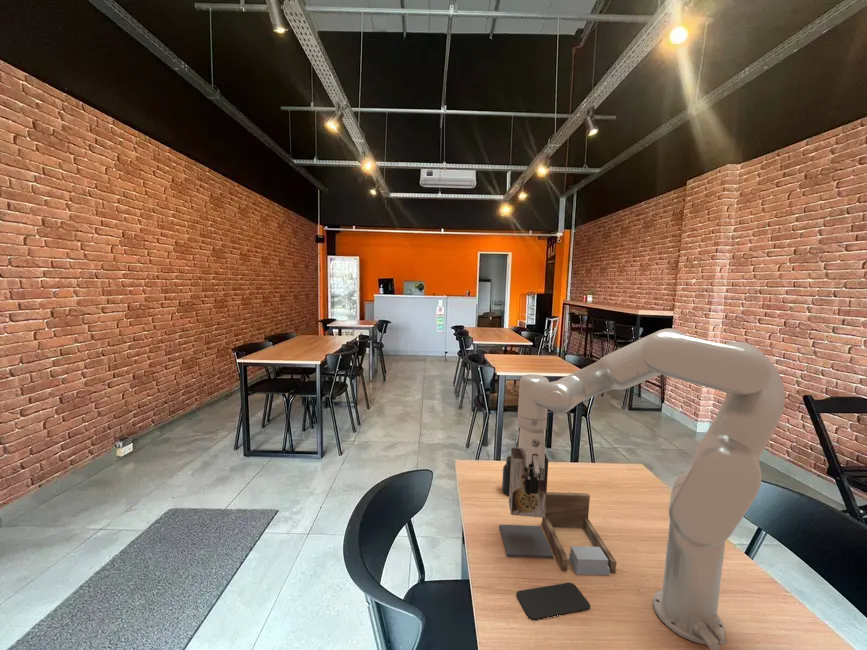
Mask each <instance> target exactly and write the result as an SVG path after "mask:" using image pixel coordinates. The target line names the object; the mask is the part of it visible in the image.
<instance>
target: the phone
mask: <svg viewBox="0 0 867 650" xmlns="http://www.w3.org/2000/svg"><path fill="white" fill-rule="evenodd" d="M515 595H516V599H517V600H518V603H519V605H520V606H521V608H522V610H523V612H524V613H525V615H526V617H527V616H528V617H527V618H528V619H529V620H530V619H531V621H532V620H537V621H539V620H538V619H542V620H544V619H543V618H547V617H553V616H557V615H558V616H557V617H560V616H559V615H562V616H566V614H567V615H570V614H571V613H572V614H576V613H581V612H585V611H586V612H587V611H590V610H591V603H589V601H588V600H587V599H586V597H585V596H584V595H583V593H582V592H581V590H580V589H579V588H578V587H577V586H576V584H574V583H572V582H565V583H558V584H552V585H551V584H550V585H545V586H540V587H533V588H527V589H521V590H518V591H517V592H516V594H515ZM553 618H554V617H553Z"/></svg>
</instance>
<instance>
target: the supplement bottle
mask: <svg viewBox="0 0 867 650" xmlns="http://www.w3.org/2000/svg"><path fill="white" fill-rule="evenodd" d="M510 468H511V455H508V456H507V457H506V462H505V464H504V465H503V467H502V479H501V480H502V483H501V491H502V493H503V494H504V495H505V494H506V495H505V496H507V495H508V497H509V489H510Z"/></svg>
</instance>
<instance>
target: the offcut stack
mask: <svg viewBox="0 0 867 650" xmlns="http://www.w3.org/2000/svg"><path fill="white" fill-rule="evenodd" d="M568 557H569V558H568V561H569V562H570V564H571V566H572V569H573V570H574V572H575V574H576V576H577V575H584V576H610V568H609V566H608V559H607V557H606V556H605V554H604V553H603V551H602V550H601V548H600V547H595V546H582V545H579V546H578V545H577V546H576V545H572V546H570V552H569V554H568Z"/></svg>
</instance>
